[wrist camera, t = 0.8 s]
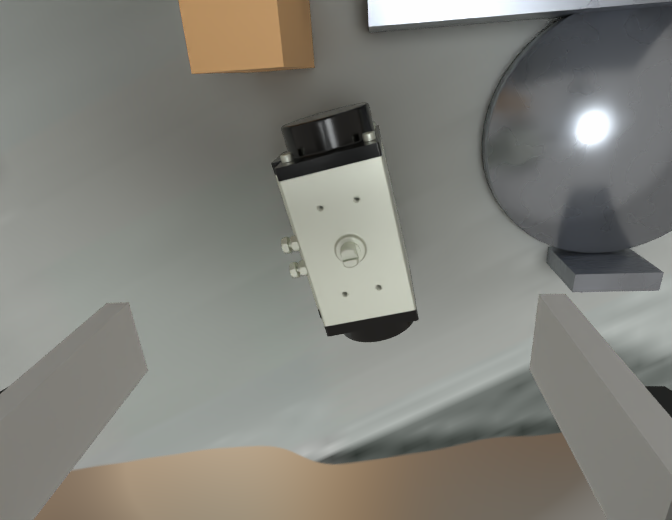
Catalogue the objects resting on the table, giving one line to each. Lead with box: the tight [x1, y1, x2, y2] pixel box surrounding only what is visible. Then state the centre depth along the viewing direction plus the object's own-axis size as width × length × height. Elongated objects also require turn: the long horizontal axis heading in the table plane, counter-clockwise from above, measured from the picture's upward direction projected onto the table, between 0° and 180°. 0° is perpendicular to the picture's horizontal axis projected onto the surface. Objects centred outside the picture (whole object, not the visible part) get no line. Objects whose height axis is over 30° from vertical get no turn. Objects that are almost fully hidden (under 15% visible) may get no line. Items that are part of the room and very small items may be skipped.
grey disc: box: [482, 6, 672, 292], centre depth 25 cm, size 18×15×4 cm
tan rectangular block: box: [178, 0, 315, 74], centre depth 22 cm, size 4×4×10 cm
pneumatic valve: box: [271, 103, 418, 342], centre depth 25 cm, size 6×12×12 cm, turn 15°
